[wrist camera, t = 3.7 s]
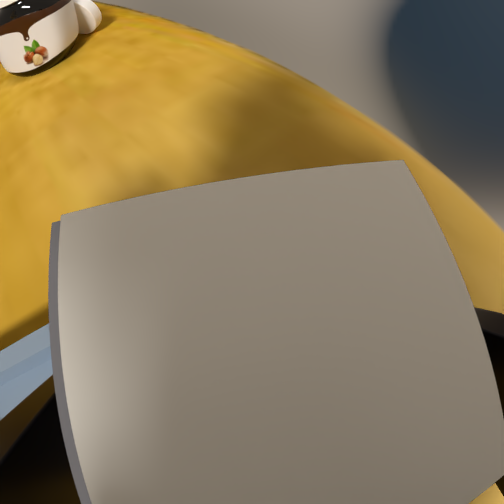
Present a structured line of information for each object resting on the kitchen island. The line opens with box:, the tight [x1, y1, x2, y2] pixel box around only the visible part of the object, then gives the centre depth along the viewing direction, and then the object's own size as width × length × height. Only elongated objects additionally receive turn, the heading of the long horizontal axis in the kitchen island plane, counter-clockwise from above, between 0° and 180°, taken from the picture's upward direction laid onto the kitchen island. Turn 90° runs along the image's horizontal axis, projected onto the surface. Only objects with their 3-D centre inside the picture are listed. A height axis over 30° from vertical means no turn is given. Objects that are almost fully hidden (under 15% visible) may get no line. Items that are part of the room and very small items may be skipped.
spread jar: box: [0, 0, 102, 77], centre depth 22 cm, size 12×11×12 cm
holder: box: [0, 324, 53, 420], centre depth 11 cm, size 9×9×2 cm
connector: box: [48, 160, 504, 504], centre depth 8 cm, size 5×5×13 cm
